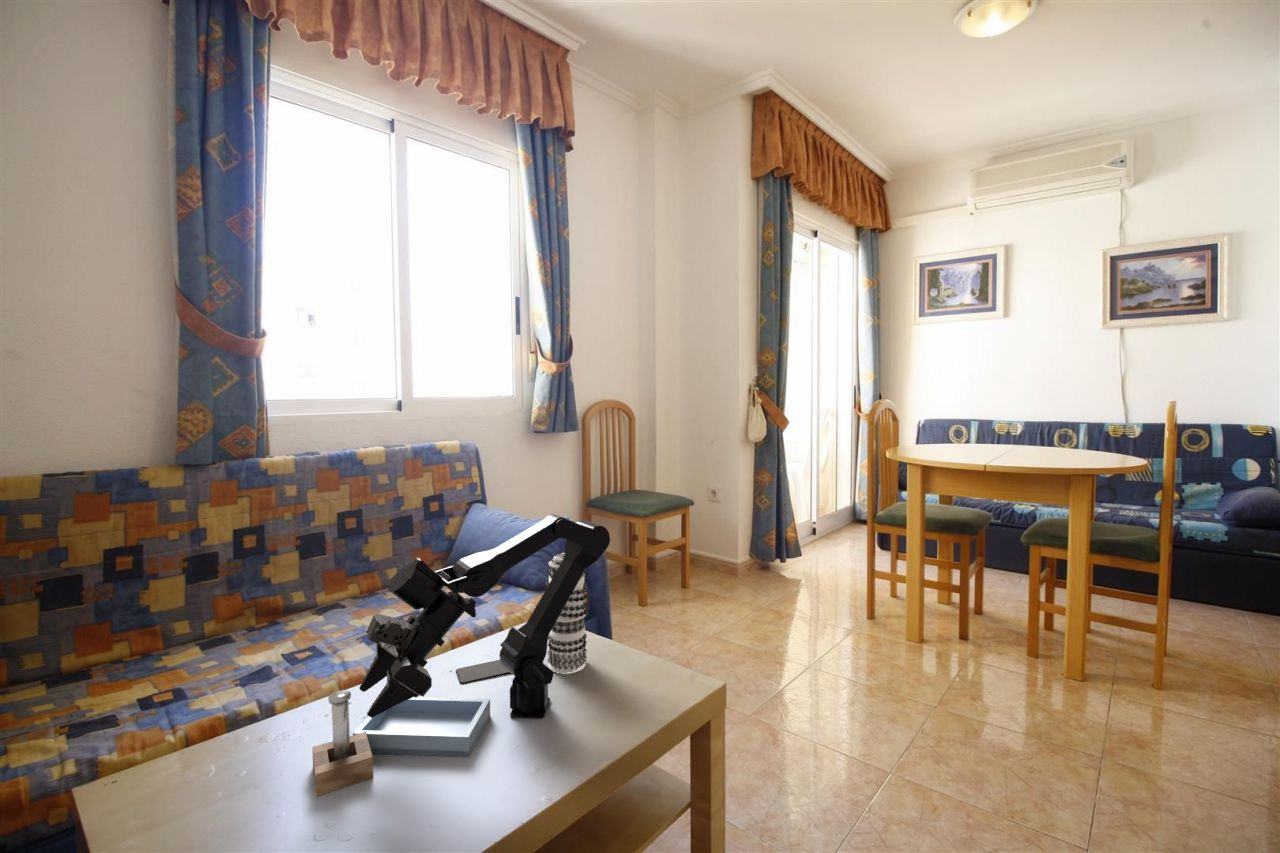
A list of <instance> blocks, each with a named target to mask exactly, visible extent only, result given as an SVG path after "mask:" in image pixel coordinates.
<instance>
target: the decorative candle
mask: <svg viewBox="0 0 1280 853" xmlns="http://www.w3.org/2000/svg"><path fill="white" fill-rule="evenodd" d="M564 556H565V552H561V553H558V554H556V555H554V556H553V557H552V559H551V560H549V561H548V566H549V567H548V568H549V569H548V570H549V575H548V579H546V582H545V587H546V588H547V587H548V585H549V583H550V582H551V580H552V578H553V576H554V575H555V573H556V571H557V569H558V568H559V566H560V564H561V563H562V561H563V559H564ZM586 580H587V577H585V572H584V573H583V575H582V576H581V578H580V580H579V582H578V584H577V585H576V587H575V589H574V591H573V592H572V594H571V596H570V598H569V600H568V601H567V603H566V605H565V607H564V609H563V610H562V612H561V614H560V616H559V617H558V619H557V621H556V623H555V625H554V626H553V628H552V630H551V632H550V634H549V636H548V643H547V647H549V649H548V650H547V651H548V652H547V655H548V658H547V662H548V668H550V669H551V670H552V671H555V672H559V673H567V672H573V670H574V671H575V670H577V669H578V668H580V667H581V666H582V665H583V664H584V662H585V661H586V662H587V658H588V656H587V651H588V650H587V648H586V646H587V640H586V639H587V637H588V636H587V633H586V627H585V626H586V625H585V617H586V615H587V609H586V608H587V605H588V604H587V602H585V600H587V598H588V594H587V592H588V587H586V586H585V585H584V583H585V581H586Z"/></svg>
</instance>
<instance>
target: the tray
mask: <svg viewBox="0 0 1280 853" xmlns="http://www.w3.org/2000/svg"><path fill="white" fill-rule="evenodd" d="M490 718H491V698H474V697H473V698H466V697H465V698H464V697H435V696H434V697H432V696H430V697H429V696H418V697H417V698H416V697H412V698H410V699H408V700H406V701H404V702H402V703H399V704H397V705H395V706H393V707H392V708H390V709H388V710H386V711H384V712H382V713H380V714H378V715H377V716H375V717H373V718H371V717H369V716H368V715H367V717H366V718H365V719H364V720H363V722H361V723H360V725H359V726H358V727H357V728H356V729H355V730H354V731H353V732H352V736H353V735H356V734H360V733H361V734H362V733H363V734H364V732H365V734H366V735H367V738H368V742H369V746H370V749H371V753H372V755H373V754H374V755H398V756H399V755H400V756H401V755H403V756H429V757H431V756H432V757H433V756H435V757H459V758H460V757H463V758H464V757H465V758H469V757H470V756H471V753H472V752H473V750H474V748H475V746H476V744H477V743H478V740H479V738H480V737H481V735H482V733H483V731H484V729H485V728H486V726H487V724H488V722H489V720H490Z"/></svg>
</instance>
